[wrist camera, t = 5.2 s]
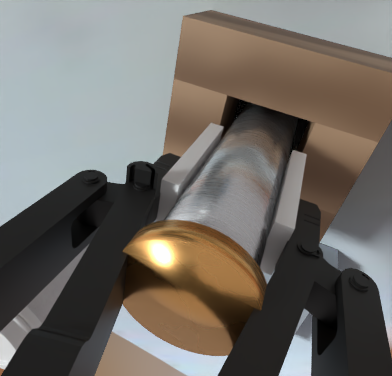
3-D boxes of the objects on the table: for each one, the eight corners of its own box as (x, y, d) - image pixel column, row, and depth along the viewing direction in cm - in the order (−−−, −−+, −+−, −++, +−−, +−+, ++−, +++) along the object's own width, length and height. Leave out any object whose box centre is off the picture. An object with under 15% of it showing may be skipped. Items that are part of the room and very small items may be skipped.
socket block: (211, 10, 21) (183, 15, 17) (398, 59, 19) (415, 79, 15) (182, 162, 28) (157, 191, 24) (317, 210, 26) (314, 251, 22)
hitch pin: (246, 75, 22) (114, 215, 9) (316, 97, 22) (288, 286, 8) (228, 138, 25) (110, 315, 12) (290, 159, 25) (237, 375, 11)
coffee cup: (137, 212, 33) (28, 338, 22) (124, 268, 39) (32, 392, 27) (59, 174, 35) (-85, 273, 23) (57, 233, 40) (-59, 338, 28)
